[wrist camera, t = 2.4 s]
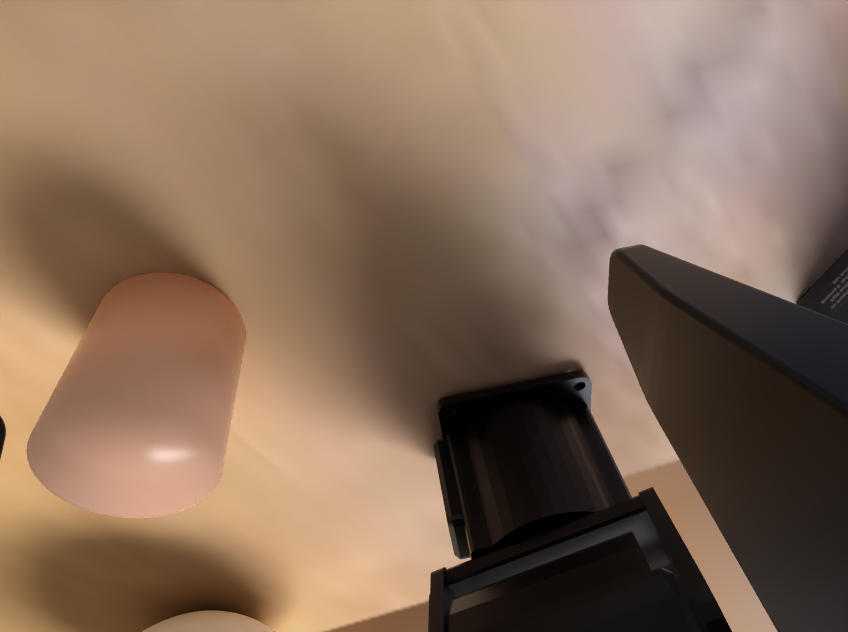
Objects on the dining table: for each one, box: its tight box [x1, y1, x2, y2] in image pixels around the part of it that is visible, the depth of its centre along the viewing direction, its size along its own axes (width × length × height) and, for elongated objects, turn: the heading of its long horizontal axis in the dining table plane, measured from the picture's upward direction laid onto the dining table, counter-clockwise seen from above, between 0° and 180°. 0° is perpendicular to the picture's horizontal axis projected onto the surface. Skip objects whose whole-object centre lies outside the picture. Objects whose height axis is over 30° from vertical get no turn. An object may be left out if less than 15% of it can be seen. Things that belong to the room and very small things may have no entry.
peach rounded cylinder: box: [27, 272, 246, 518], centre depth 19 cm, size 5×5×6 cm
